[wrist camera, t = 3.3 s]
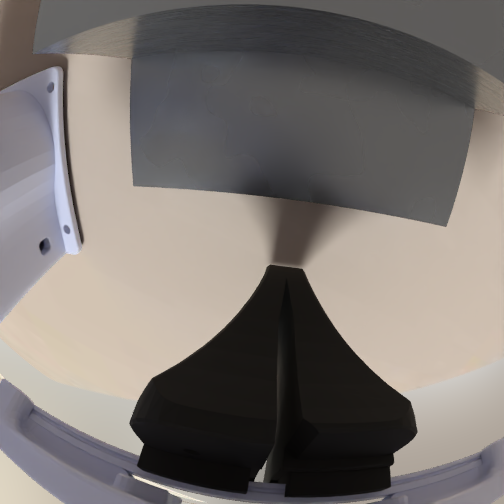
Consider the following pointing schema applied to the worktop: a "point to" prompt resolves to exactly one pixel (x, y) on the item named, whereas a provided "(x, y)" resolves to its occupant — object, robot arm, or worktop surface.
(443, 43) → the bookend
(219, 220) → the worktop surface
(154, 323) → the worktop surface
